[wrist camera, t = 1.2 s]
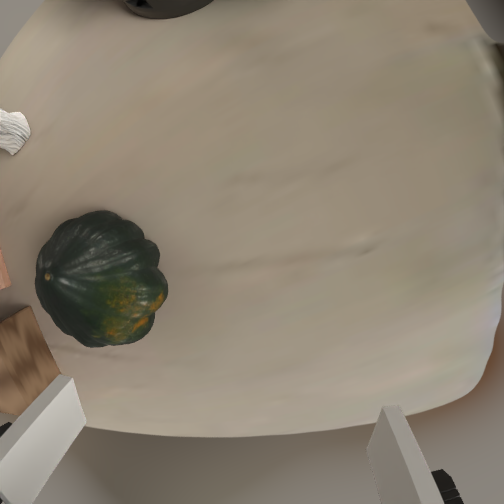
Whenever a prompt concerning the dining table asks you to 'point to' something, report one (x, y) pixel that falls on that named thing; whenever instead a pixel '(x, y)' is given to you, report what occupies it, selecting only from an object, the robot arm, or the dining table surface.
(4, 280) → the tile
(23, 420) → the robot arm
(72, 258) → the squash
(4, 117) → the shell sculpture
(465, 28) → the dining table surface
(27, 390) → the shelf
